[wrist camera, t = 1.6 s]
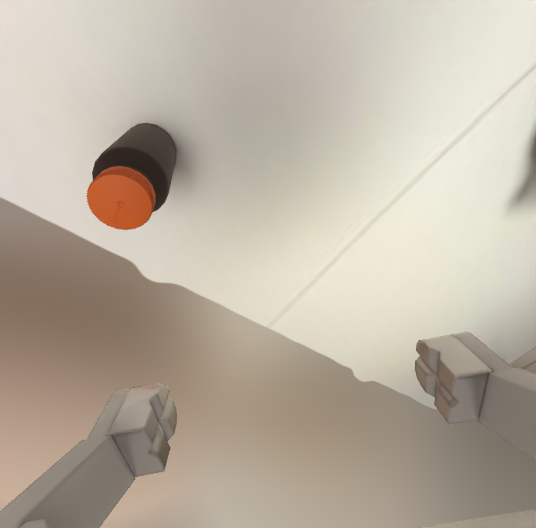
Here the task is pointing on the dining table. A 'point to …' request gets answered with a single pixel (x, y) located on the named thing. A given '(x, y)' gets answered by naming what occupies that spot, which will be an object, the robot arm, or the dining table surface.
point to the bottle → (132, 177)
